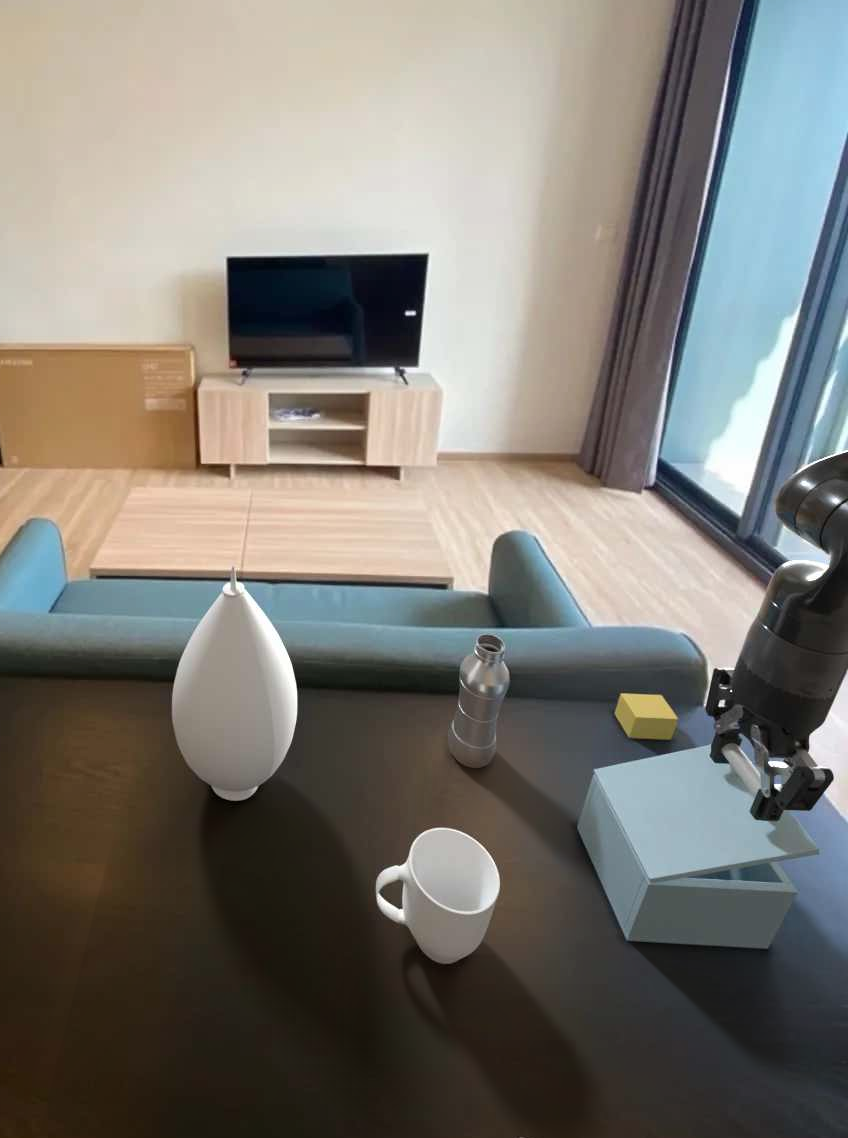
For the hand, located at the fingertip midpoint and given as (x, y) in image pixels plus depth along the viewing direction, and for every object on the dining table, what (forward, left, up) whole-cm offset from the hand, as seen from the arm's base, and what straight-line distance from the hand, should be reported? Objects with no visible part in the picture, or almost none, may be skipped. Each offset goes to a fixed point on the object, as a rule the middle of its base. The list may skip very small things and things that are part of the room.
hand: (740, 787), depth 69 cm
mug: (+33, +7, -17) cm, 37 cm away
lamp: (+55, -11, -17) cm, 58 cm away
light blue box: (+4, 0, -17) cm, 17 cm away
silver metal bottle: (+22, -17, -17) cm, 32 cm away
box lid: (+4, 0, -4) cm, 5 cm away
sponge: (-5, -23, -17) cm, 29 cm away
